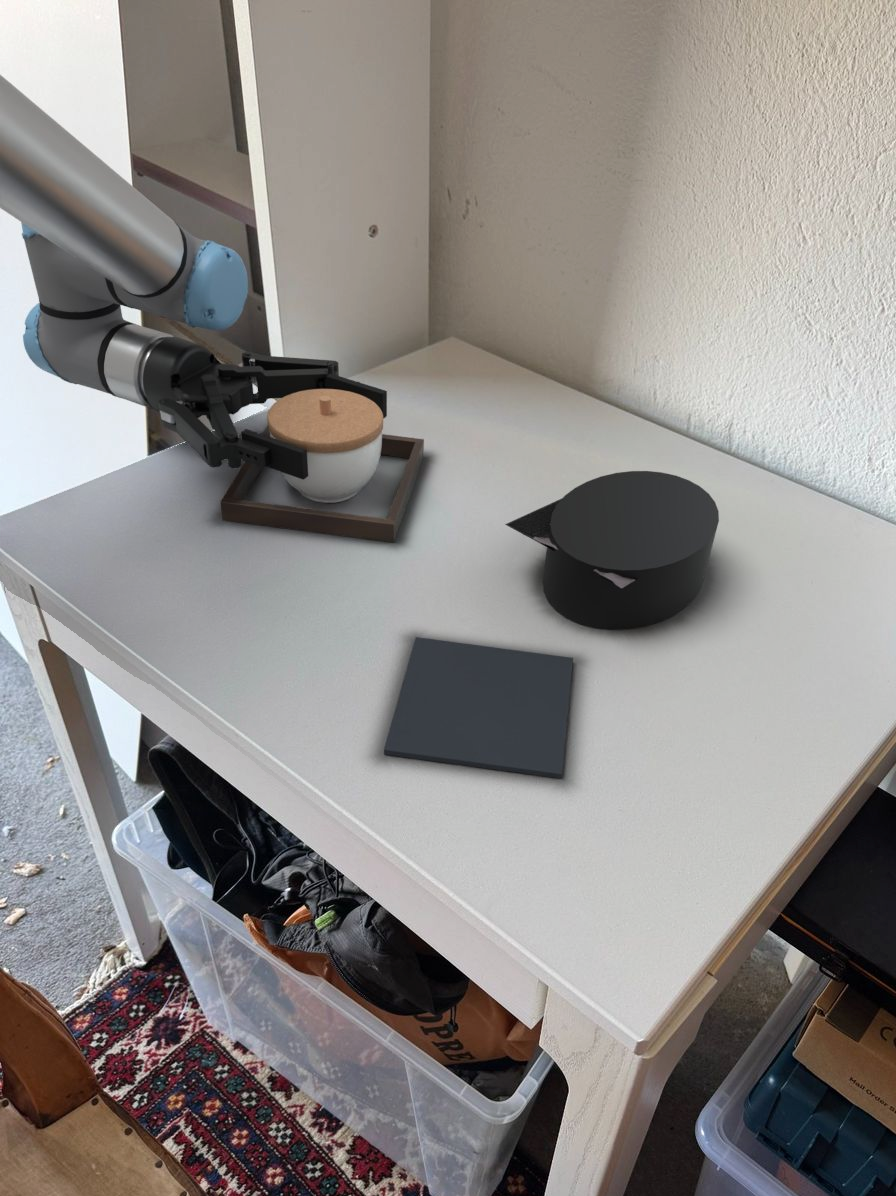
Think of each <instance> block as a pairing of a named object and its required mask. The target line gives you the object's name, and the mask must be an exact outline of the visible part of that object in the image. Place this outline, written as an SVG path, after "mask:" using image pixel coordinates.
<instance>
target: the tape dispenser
mask: <svg viewBox="0 0 896 1196" xmlns="http://www.w3.org/2000/svg"><path fill="white" fill-rule="evenodd" d="M719 514H720V513H719V508H718V506H717V504H716V501H715V499H714V498H713V497H712V496H711V494H710V493H709V492H708V491H707V490H705V489H704V488H703V487H701V486H700V485H698V484H697V483H695V482H693V481H691V480H689V479H687V478H684V477H681V476H678V475H676V474H670V473H667V472H661V471H653V470H652V471H651V470H627V471H621V472H620V471H619V472H615V473H610V474H605V475H601V476H599V477H595V478H593V479H590V480H588V481H585V482H583V483H581V484H579V485H578V486H576V487H574V488H573V489H571V490H570V491H569V492H567V493H566V494H565V495H563V496H562V497H561V498H560V499H557V500H555V501H553V502H551V503H549V504H546V505H544V506H541V507H540V508H537V509H536V510H533V511H531V512H529V513H527V514H524V515H523V516H520V517H518V518H516V519H513V520H512V521H509V522H507V523H504V525H505V526H507V527H509V528H510V529H512V530H515V531H516V532H518V533H520V534H522V535H523V536H525V537H527V538H529V539H531V540H533V541H534V542H535V543H538V544H540V545H542V546H544V547H545V548H546V552H545V561H544V567H543V575H542V591H543V594H544V596H545V598H546V600H547V603H549V606H551V607H552V608H553V609H554V610H555V612H557V613H559V614H560V615H561V616H563V617H564V618H565V619H567V620H569V621H572V622H574V623H576V624H579V625H581V626H585V627H589V628H593V629H599V630H600V629H601V630H609V631H616V630H617V631H618V630H619V631H620V630H632V629H637V628H644V627H648V626H652V625H655V624H658V623H661V622H663V621H665V620H668V619H669V618H671V617H674V616H676V615H677V614H679V613H680V612H681V611H683V610H684V609H685V608H687V607H688V606H689V605H690V604H691V603H692V602H693V601H694V600H695V598H697V596H698V595H699V592H700V591H701V590H702V586H703V583H704V580H705V576H706V572H707V568H708V566H709V565H708V564H709V560H710V556H711V554H712V553H711V552H712V549H713V545H714V541H715V539H716V538H715V537H716V533H717V529H718V527H719V522H720V515H719Z"/></svg>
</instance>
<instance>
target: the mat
mask: <svg viewBox="0 0 896 1196" xmlns="http://www.w3.org/2000/svg"><path fill="white" fill-rule="evenodd" d="M409 656H410V657H409V659H408V663H407V665H406V670H405V673H404V677H403V681H402V684H401V688H400V690H399V695H398V698H397V702H396V705H395V709H394V712H393V716H392V720H391V723H390V727H389V730H388V734H387V737H386V741H385V745H384V748H383V755H387V756H394V757H402V758H407V759H415V760H423V761H429V762H437V763H446V764H452V765H459V766H467V767H474V768H482V769H490V770H495V771H496V770H497V771H504V772H510V773H519V774H526V775H533V776H539V777H547V778H555V779H562V778H563V769H564V759H565V748H566V740H567V739H566V738H567V727H568V717H569V708H570V706H569V705H570V695H571V685H572V676H573V675H572V674H573V664H574V658H573V657H569V656H563V655H554V654H546V653H539V652H532V651H524V650H516V649H509V648H502V647H495V646H486V645H479V644H471V643H465V642H458V641H457V642H456V641H450V640H443V639H442V640H441V639H435V638H428V637H427V638H426V637H421V636H419V637H418V636H415V638H414V642H413V645H412V649H411V652H410V655H409Z"/></svg>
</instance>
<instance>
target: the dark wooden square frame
mask: <svg viewBox="0 0 896 1196" xmlns="http://www.w3.org/2000/svg"><path fill="white" fill-rule="evenodd" d="M261 434H263V435H266V436H269V437H270V431H269V428H268V423H267V425H266V426H265V428H264V429H263V431H262V433H261ZM424 454H425V439H423V438H415V437H408V436H400V435H393V434H385V433H382V448H381V455H383V456H390V457H398V458H405V459H408V460H407V464H406V466H405V468H404V472H403V474H402V477H401V480H400V482H399V485H398V488H397V490H396V494H395V496H394V498H393V502H392V504H391V506H390V509H389V512H388V515H387V518H383V517H375V516H369V515H368V516H367V515H359V514H351V513H344V512H336V511H328V510H321V509H314V508H306V507H298V506H291V505H282V504H275V503H267V502H260V501H251V500H246V499H245V497H246V496H247V494H248V493H249V491H250V488H252V485H253V483H254V482H255V480H256V478H257V477H258V475H259V473H260V472H261V470H262V469H263V467H262V466H257V465H254V464H251V463H249V462H246V461H243V464H242V465H241V467H240V469H239V470H238V472H237V473H236V475H235V477H234V479H233V480H232V482H231V484H230V485H229V487H228V488H227V490H226V492H225V494H224V495H223V497H222V498H221V500H220V503H219V504H220V511H221V518H222V521H225V522H234V523H242V524H249V525H257V526H265V527H273V528H279V529H285V530H286V529H287V530H293V531H294V530H295V531H302V532H310V533H319V534H325V535H334V536H339V537H341V536H342V537H347V538H355V539H364V540H372V541H379V542H387V543H394V542H395V540H396V537H397V534H398V531H399V529H400V525H401V523H402V519H403V517H404V515H405V511H406V509H407V506H408V503H409V500H410V498H411V494H412V492H413V488H414V485H415V483H416V479H417V478H418V477H417V476H418V474H419V471H420V469H421V465H422V463H423V459H424V456H425V455H424ZM244 499H245V500H244Z"/></svg>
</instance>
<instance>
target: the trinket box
mask: <svg viewBox="0 0 896 1196" xmlns="http://www.w3.org/2000/svg"><path fill="white" fill-rule="evenodd" d="M266 421H267V424H268V428H269V431H270V437H272V438H275V439H278V440H280V441H283V442H286V443H289V444H292V445H295V446H298V447H301V448H304V449H307V462H308V477H306V478H305V479H304V480H303V479H300V478H297V477H294V476H291V475H289V474H286V473H283V472H280V474H281V476H282V477H283V478H284V479H285V480H286V482H287V483H288V484H289V485H290V486H291V487H293V488H294V489H295V490H297V492H298V493H299V494H300V495H301V496H302V497H304V498H305V499H307V500H310V501H313V502H317V503H323V504H334V503H335V504H336V503H341V502H345V501H348V500H350V499H352V498H354V497H355V496H356V495H357V494H358V493H359V492H360V490H361V489H362V488H364V487H365V486H366V485H367V484H368V483H369V482H370V481H371V479H372V477H373V476H374V474H376V473H375V472H376V470H377V469H378V465H379V462H380V459H381V455H382V454H381V448H382V434H383V430H384V419H383V413H382V411H381V409H380V408H379V407H378V406H377V405H376V404H375V403H374V402H373V401H371V400H370V399H368V398H366V397H364V396H362V395H359V394H356V393H353V392H349V391H344V390H336V389H312V390H305V391H300V392H296V393H293V394H290V395H287V396H285V397H283V398H278V400H276V401H275V402H274V403H273V404H272V405H271V407H270V408H269V410H268V411H267V415H266Z"/></svg>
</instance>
